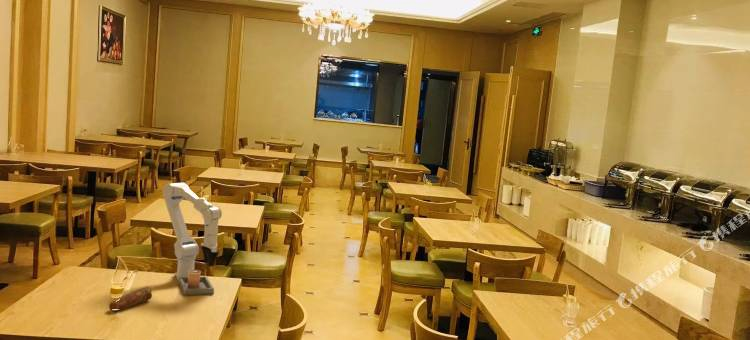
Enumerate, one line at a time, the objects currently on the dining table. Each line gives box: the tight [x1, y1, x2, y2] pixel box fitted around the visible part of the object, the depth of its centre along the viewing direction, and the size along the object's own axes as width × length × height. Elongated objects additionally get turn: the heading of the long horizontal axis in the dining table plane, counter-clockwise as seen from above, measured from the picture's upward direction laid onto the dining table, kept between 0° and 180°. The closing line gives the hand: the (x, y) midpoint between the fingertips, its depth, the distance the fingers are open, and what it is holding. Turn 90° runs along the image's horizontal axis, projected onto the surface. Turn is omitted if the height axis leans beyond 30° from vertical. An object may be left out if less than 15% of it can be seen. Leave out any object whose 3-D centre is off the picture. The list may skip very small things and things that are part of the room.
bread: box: [108, 286, 153, 311], centre depth 249 cm, size 6×19×6 cm, turn 155°
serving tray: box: [178, 275, 215, 296], centre depth 277 cm, size 18×12×2 cm, turn 25°
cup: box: [188, 269, 202, 289], centre depth 276 cm, size 5×5×7 cm
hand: (209, 263), depth 283 cm, fingers open, 7 cm apart
